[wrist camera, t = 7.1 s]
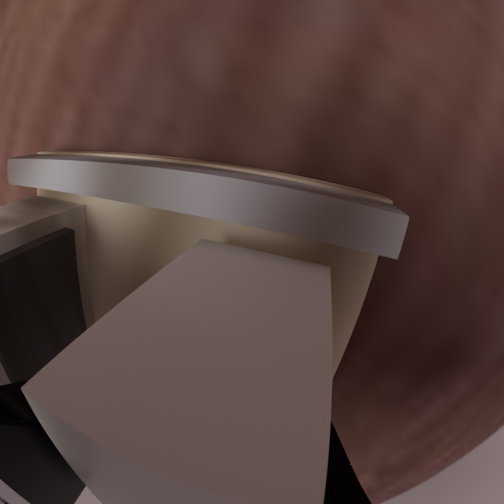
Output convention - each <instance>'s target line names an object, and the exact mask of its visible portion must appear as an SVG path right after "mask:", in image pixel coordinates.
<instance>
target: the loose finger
mask: <svg viewBox="0 0 504 504" xmlns="http://www.w3.org/2000/svg"><path fill="white" fill-rule="evenodd" d="M332 361H333V341H332V296H331V274H330V267H329V266H325V265H320V264H316V263H311V262H307V261H302V260H297V259H293V258H288V257H284V256H279V255H275V254H270V253H266V252H261V251H256V250H252V249H247V248H243V247H238V246H234V245H229V244H224V243H220V242H215V241H211V240H206V239H201V240H199V241H198V242H197V243H195V244H194V245H193V246H191V247H190V248H189V249H187V250H186V251H185V252H183V253H182V254H181V255H180V256H178V257H177V258H176V259H174V260H173V261H172V262H170V263H169V264H168V265H167V266H165V267H164V268H163V269H161V270H160V271H159V272H158V273H156V274H155V275H154V276H152V277H151V278H150V279H149V280H147V281H146V282H145V283H144V284H142V285H141V286H140V287H139V288H137V289H136V290H135V291H134V292H132V293H131V294H130V295H129V296H127V297H126V298H125V299H124V300H122V301H121V302H120V303H119V304H117V305H116V306H115V307H114V308H113V309H111V310H110V311H109V312H108V313H106V314H105V315H104V316H103V317H102V318H100V319H99V320H98V321H97V322H96V323H94V324H93V325H92V326H91V327H90V328H88V329H87V330H86V331H85V332H84V333H83V334H81V335H80V336H79V337H78V338H77V339H75V340H74V341H73V342H72V343H71V344H70V345H68V346H67V347H66V348H65V349H64V350H63V351H62V352H60V353H59V354H58V355H57V356H56V357H55V358H54V359H52V360H51V361H50V362H49V363H48V364H47V365H46V366H44V367H43V368H42V369H41V370H40V371H39V372H38V373H37V374H36V375H34V376H33V377H32V378H31V379H30V380H29V381H28V382H27V383H26V384H25V385H23V386H22V387H21V390H22V392H23V394H24V395H25V397H26V399H27V401H28V403H29V405H30V406H31V408H32V410H33V412H34V413H35V415H36V417H37V418H38V420H39V422H40V423H41V425H42V426H43V428H44V430H45V431H46V433H47V434H48V436H49V437H50V439H51V440H52V442H53V443H54V445H55V446H56V448H57V449H58V450H59V452H60V453H61V455H62V456H63V457H64V459H65V460H66V461H67V463H68V464H69V465H70V466H71V468H72V469H73V470H74V472H75V473H76V474H77V475H78V477H79V478H80V479H81V480H82V481H83V482H84V484H85V485H86V486H87V487H88V488H89V489H90V490H91V492H92V493H93V494H94V495H95V496H96V497H97V498H98V499H99V500H100V501H101V503H103V504H323V502H324V494H325V485H326V476H327V466H328V454H329V441H330V425H331V404H332Z"/></svg>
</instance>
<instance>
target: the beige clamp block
mask: <svg viewBox="0 0 504 504" xmlns="http://www.w3.org/2000/svg"><path fill="white" fill-rule="evenodd" d="M8 184H14V185H21V186H28V187H35V188H37V196H34V197H30V198H27V199H23V200H20V201H16V202H13V203H10V204H7V205H4V206H0V385H5V384H10V383H15V382H19V381H24V380H28V379H31V378H32V377H33V376H34V375H36V374H37V373H38V372H39V371H40V370H41V369H42V368H43V367H44V366H46V365H47V364H48V363H49V362H50V361H51V360H52V359H54V358H55V357H56V356H57V355H58V354H59V353H60V352H62V351H63V350H64V349H65V348H66V347H67V346H68V345H70V344H71V343H72V342H73V341H74V340H75V339H77V338H78V337H79V336H80V335H81V334H83V333H84V332H85V331H86V330H87V329H88V328H90V327H91V326H92V325H93V324H94V323H96V322H97V321H98V320H99V319H100V318H102V317H103V316H104V315H105V314H106V313H108V312H109V311H110V310H111V309H113V308H114V307H115V306H116V305H117V304H119V303H120V302H121V301H122V300H124V299H125V298H126V297H127V296H129V295H130V294H131V293H132V292H134V291H135V290H136V289H137V288H139V287H140V286H141V285H142V284H144V283H145V282H146V281H147V280H149V279H150V278H151V277H152V276H154V275H155V274H156V273H158V272H159V271H160V270H161V269H163V268H164V267H165V266H167V265H168V264H169V263H170V262H172V261H173V260H174V259H176V258H177V257H178V256H180V255H181V254H182V253H183V252H185V251H186V250H187V249H189V248H190V247H191V246H193V245H194V244H195V243H197V242H198V241H199V240H201V239H206V240H211V241H215V242H220V243H224V244H229V245H234V246H238V247H243V248H247V249H252V250H256V251H261V252H266V253H270V254H275V255H279V256H284V257H288V258H293V259H297V260H302V261H307V262H311V263H316V264H320V265H325V266H329V267H330V274H331V296H332V341H333V361H332V379H333V377H334V375H335V372H336V370H337V368H338V366H339V363H340V361H341V359H342V356H343V354H344V351H345V349H346V347H347V344H348V342H349V339H350V337H351V334H352V332H353V329H354V326H355V324H356V321H357V319H358V316H359V313H360V310H361V308H362V305H363V302H364V299H365V296H366V293H367V290H368V287H369V284H370V281H371V278H372V275H373V272H374V269H375V266H376V262H377V259H378V256H379V255H380V256H384V257H389V258H393V259H397V260H398V256H399V253H400V250H401V247H402V243H403V240H404V236H405V233H406V229H407V226H408V222H409V218H410V217H409V216H408V215H406V214H405V213H404V212H402V211H401V210H400V209H398V208H397V207H396V206H394V205H393V204H392V203H393V201H392V200H391V199H389V198H388V197H386V196H384V195H380V194H376V193H372V192H368V191H365V190H360V189H356V188H352V187H348V186H344V185H339V184H335V183H331V182H326V181H322V180H317V179H312V178H307V177H302V176H297V175H292V174H287V173H282V172H276V171H271V170H265V169H259V168H253V167H247V166H240V165H234V164H227V163H220V162H213V161H205V160H197V159H189V158H180V157H170V156H160V155H149V154H136V153H122V152H104V151H76V150H51V151H43V152H38V154H34V155H28V156H21V157H15V158H9V159H8Z"/></svg>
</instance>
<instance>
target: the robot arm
mask: <svg viewBox="0 0 504 504" xmlns="http://www.w3.org/2000/svg"><path fill="white" fill-rule="evenodd" d="M29 380H30V379H28V380H24V381H19V382H15V383H10V384H5V385H0V504H74V503H75V502H76V500H77V499H78V497H79V496H80V494H81V492H82V491H83V489H84V488H85V486H86V485H85V484H84V482H83V481H82V480H81V479H80V478H79V477H78V475H77V474H76V473H75V472H74V470H73V469H72V468H71V466H70V465H69V464H68V463H67V461H66V460H65V459H64V457H63V456H62V455H61V453H60V452H59V450H58V449H57V448H56V446H55V445H54V443H53V442H52V440H51V439H50V437H49V436H48V434H47V433H46V431H45V430H44V428H43V426H42V425H41V423H40V422H39V420H38V418H37V417H36V415H35V413H34V412H33V410H32V408H31V406H30V405H29V403H28V401H27V399H26V397H25V395H24V394H23V392H22V390H21V387H22V386H23V385H25V384H26V383H27V382H28V381H29ZM323 504H372V503H371V502H370V500H369V499H368V497H367V495H366V494H365V492H364V490H363V488H362V487H361V485H360V483H359V481H358V479H357V476H356V474H355V472H354V470H353V468H352V465H350V461H349V459H348V457H347V455H346V452H345V450H344V448H343V446H342V443H341V441H340V439H339V437H338V434H337V432H336V430H335V428H334V426H333V423H332V421H331V425H330V441H329V454H328V466H327V476H326V485H325V494H324V502H323Z"/></svg>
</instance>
